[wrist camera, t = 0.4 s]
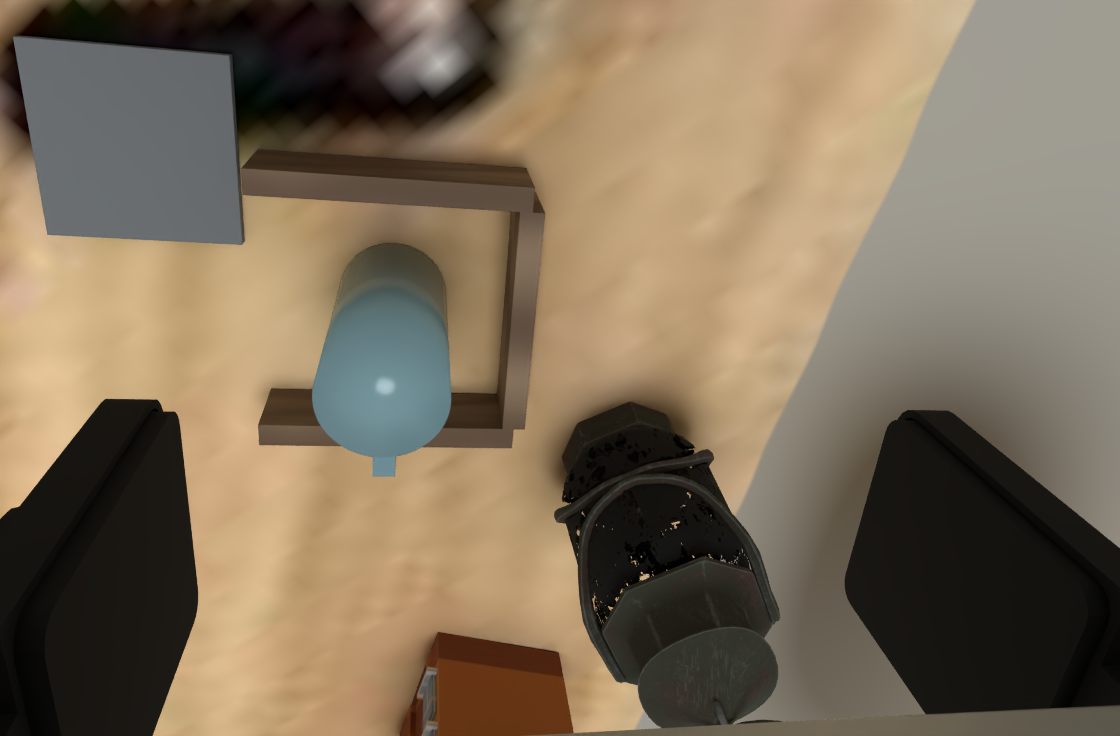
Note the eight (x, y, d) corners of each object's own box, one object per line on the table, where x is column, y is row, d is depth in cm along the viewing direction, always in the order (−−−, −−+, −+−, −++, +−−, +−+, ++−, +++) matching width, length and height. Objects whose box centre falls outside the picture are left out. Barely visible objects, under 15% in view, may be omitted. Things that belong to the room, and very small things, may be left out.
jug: (339, 240, 43) (309, 335, 32) (448, 246, 44) (454, 340, 33) (341, 376, 46) (315, 502, 36) (442, 378, 47) (446, 502, 37)
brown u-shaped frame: (257, 149, 40) (241, 168, 37) (537, 168, 43) (547, 188, 39) (272, 407, 47) (259, 445, 43) (516, 412, 49) (522, 448, 45)
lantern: (574, 535, 54) (698, 1035, 29) (521, 426, 50) (613, 902, 25) (714, 478, 53) (962, 937, 28) (672, 364, 49) (920, 785, 24)
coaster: (19, 35, 37) (13, 36, 36) (232, 54, 38) (228, 55, 38) (52, 231, 41) (47, 234, 40) (244, 241, 42) (242, 244, 42)
